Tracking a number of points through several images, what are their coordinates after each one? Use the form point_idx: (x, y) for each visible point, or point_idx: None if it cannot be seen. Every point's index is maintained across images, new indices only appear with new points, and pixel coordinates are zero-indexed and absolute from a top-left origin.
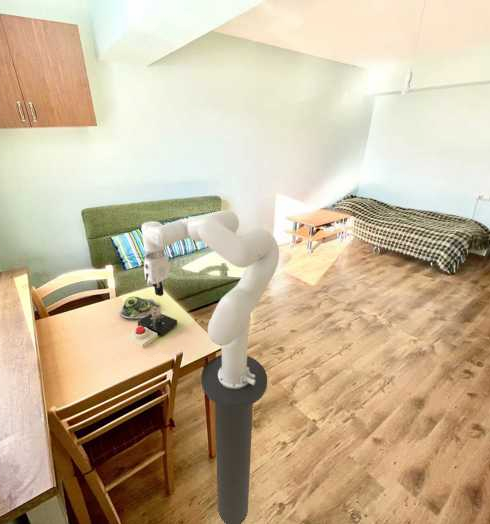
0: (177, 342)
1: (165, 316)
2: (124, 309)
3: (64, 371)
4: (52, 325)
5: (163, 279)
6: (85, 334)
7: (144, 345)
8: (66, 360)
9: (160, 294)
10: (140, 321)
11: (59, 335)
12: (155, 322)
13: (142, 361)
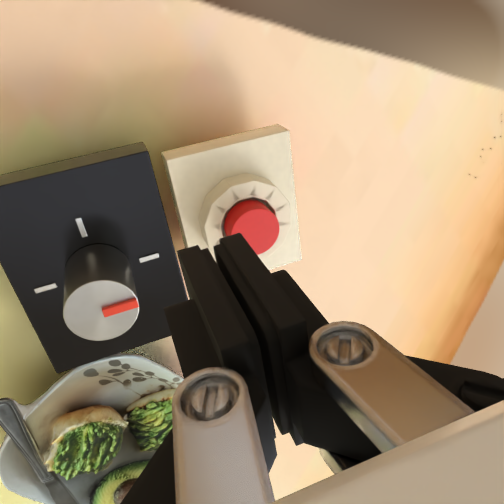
0: (63, 43)
1: (22, 284)
2: None
3: (480, 238)
4: None
5: (352, 496)
6: None
7: (269, 129)
8: (447, 286)
9: (249, 250)
10: None
11: None
12: (124, 257)
13: (303, 65)
